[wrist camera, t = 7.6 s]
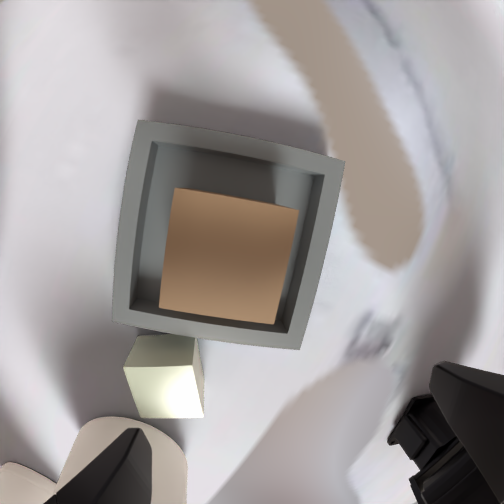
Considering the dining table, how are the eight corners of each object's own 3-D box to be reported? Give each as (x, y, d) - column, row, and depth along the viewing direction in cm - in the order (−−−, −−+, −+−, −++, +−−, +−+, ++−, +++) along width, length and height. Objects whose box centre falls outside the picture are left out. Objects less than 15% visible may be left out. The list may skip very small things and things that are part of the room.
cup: (87, 391, 19) (42, 483, 9) (203, 434, 21) (205, 536, 11) (78, 453, 20) (52, 526, 11) (171, 486, 22) (167, 564, 12)
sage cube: (196, 331, 19) (192, 365, 15) (204, 380, 20) (203, 417, 16) (138, 335, 18) (123, 367, 14) (150, 382, 19) (140, 418, 15)
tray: (328, 164, 17) (345, 161, 15) (289, 330, 19) (299, 349, 17) (148, 129, 16) (138, 119, 13) (124, 304, 18) (112, 321, 15)
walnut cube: (258, 287, 18) (273, 324, 13) (174, 274, 17) (158, 307, 12) (275, 203, 17) (299, 210, 12) (187, 187, 16) (174, 187, 11)
